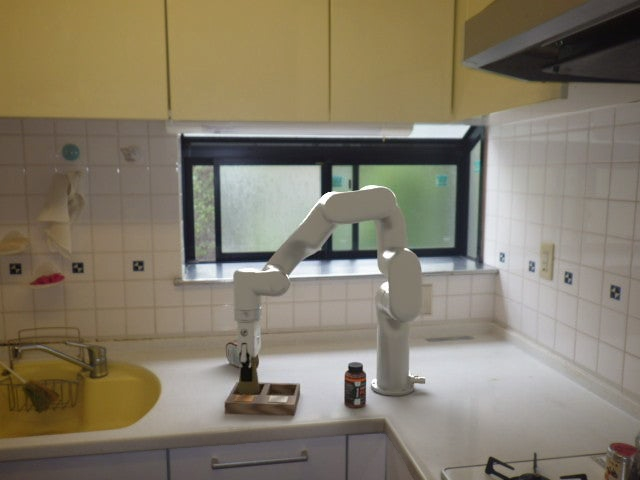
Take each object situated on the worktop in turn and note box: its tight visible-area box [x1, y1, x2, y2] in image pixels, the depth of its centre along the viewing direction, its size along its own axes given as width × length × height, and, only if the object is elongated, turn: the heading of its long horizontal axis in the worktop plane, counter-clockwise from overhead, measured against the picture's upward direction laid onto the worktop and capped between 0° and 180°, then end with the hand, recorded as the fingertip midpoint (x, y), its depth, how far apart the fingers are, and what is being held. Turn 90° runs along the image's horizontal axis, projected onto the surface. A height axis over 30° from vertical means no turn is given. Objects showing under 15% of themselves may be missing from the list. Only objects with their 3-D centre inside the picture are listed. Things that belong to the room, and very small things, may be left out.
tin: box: [225, 339, 260, 369], centre depth 169 cm, size 15×3×8 cm, turn 45°
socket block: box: [224, 381, 301, 417], centre depth 143 cm, size 18×14×3 cm
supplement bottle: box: [343, 361, 367, 409], centre depth 141 cm, size 6×6×11 cm
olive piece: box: [238, 354, 260, 395], centre depth 144 cm, size 6×6×11 cm
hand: (248, 376), depth 144 cm, fingers closed on olive piece, 4 cm apart
